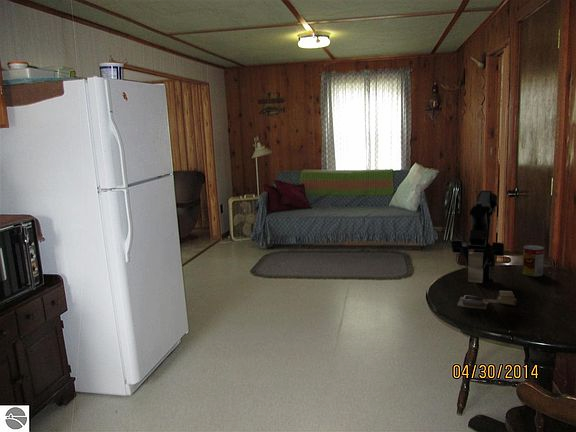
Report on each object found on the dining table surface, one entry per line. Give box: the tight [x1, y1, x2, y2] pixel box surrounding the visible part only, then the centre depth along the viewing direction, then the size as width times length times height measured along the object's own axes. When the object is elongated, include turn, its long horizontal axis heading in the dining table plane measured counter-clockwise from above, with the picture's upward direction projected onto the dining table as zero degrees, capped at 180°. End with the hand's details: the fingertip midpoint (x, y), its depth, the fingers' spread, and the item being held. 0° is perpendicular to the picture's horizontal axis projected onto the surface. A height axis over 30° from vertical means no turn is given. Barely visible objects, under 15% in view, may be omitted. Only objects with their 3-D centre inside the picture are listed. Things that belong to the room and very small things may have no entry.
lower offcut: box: [498, 294, 514, 305], centre depth 174 cm, size 6×5×2 cm
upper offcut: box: [498, 290, 515, 300], centre depth 174 cm, size 5×4×2 cm
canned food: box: [522, 244, 545, 277], centre depth 204 cm, size 8×8×12 cm
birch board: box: [467, 251, 484, 284], centre depth 177 cm, size 3×5×11 cm, turn 62°
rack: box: [456, 294, 517, 310], centre depth 174 cm, size 14×19×3 cm
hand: (475, 267), depth 176 cm, fingers closed on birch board, 5 cm apart
